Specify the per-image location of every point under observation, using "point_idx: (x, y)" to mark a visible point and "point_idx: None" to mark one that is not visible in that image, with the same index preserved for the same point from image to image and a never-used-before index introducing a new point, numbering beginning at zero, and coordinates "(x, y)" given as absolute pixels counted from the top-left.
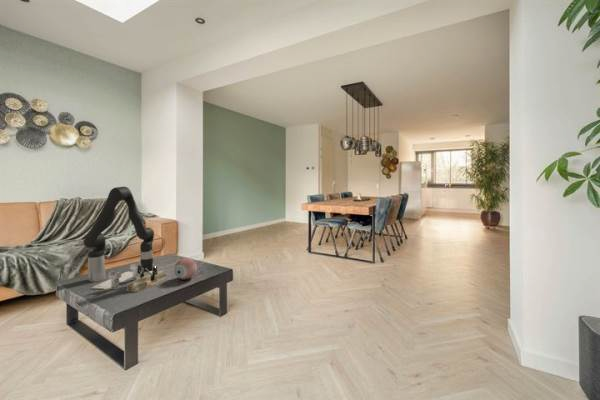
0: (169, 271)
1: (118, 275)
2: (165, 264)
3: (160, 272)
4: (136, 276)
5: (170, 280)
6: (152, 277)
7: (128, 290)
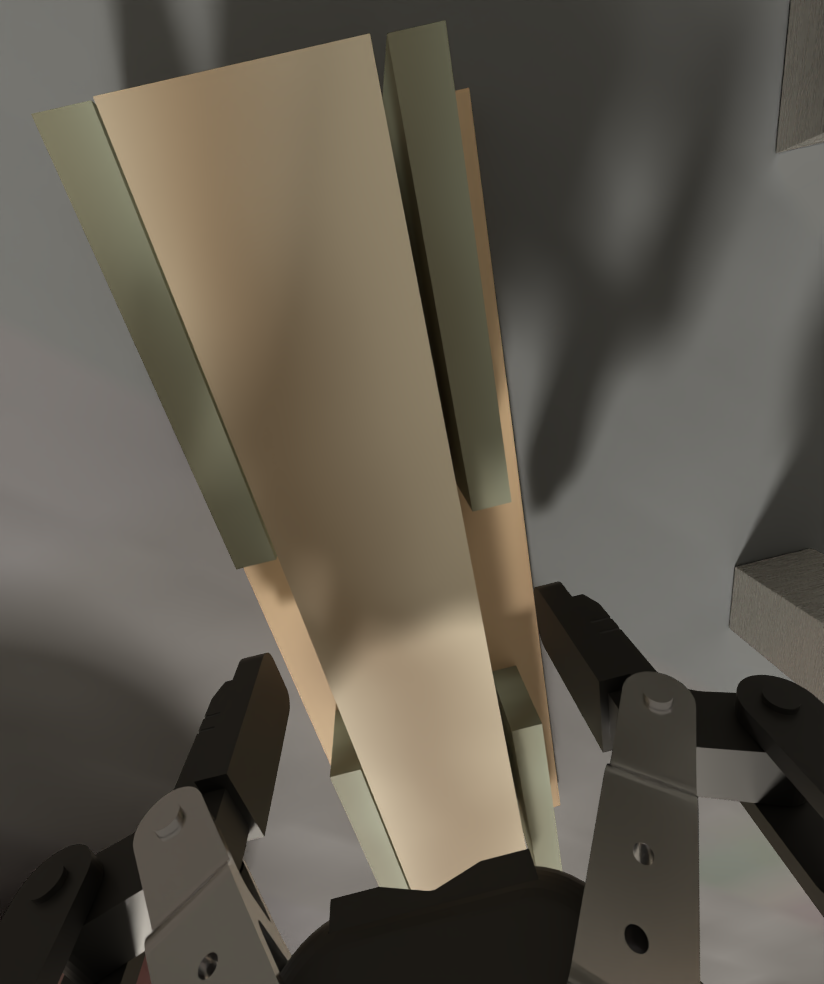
0: None
1: None
2: (789, 961)
3: None
4: (810, 626)
5: None
6: (202, 754)
7: None
